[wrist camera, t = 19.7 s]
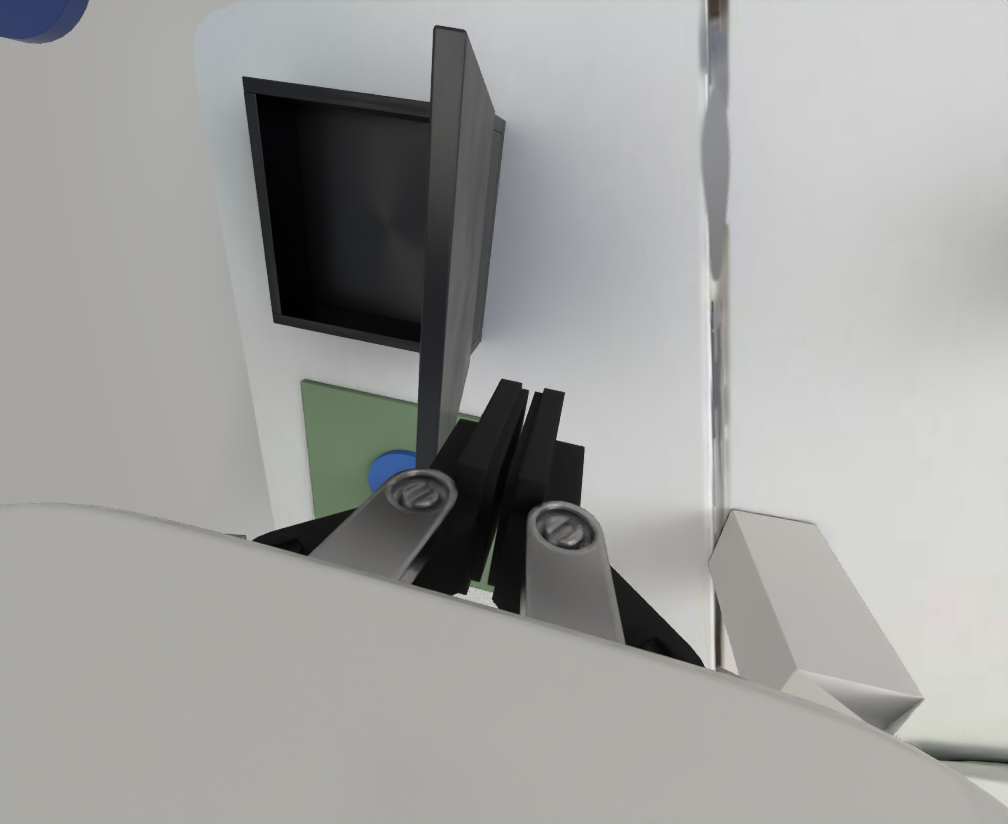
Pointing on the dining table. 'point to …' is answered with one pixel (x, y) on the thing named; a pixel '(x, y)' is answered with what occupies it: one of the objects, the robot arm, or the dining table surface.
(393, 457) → the blue peg stand
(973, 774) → the square plate
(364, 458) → the mat
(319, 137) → the open box
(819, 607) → the milk carton
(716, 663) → the dining table surface
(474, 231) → the black box top
